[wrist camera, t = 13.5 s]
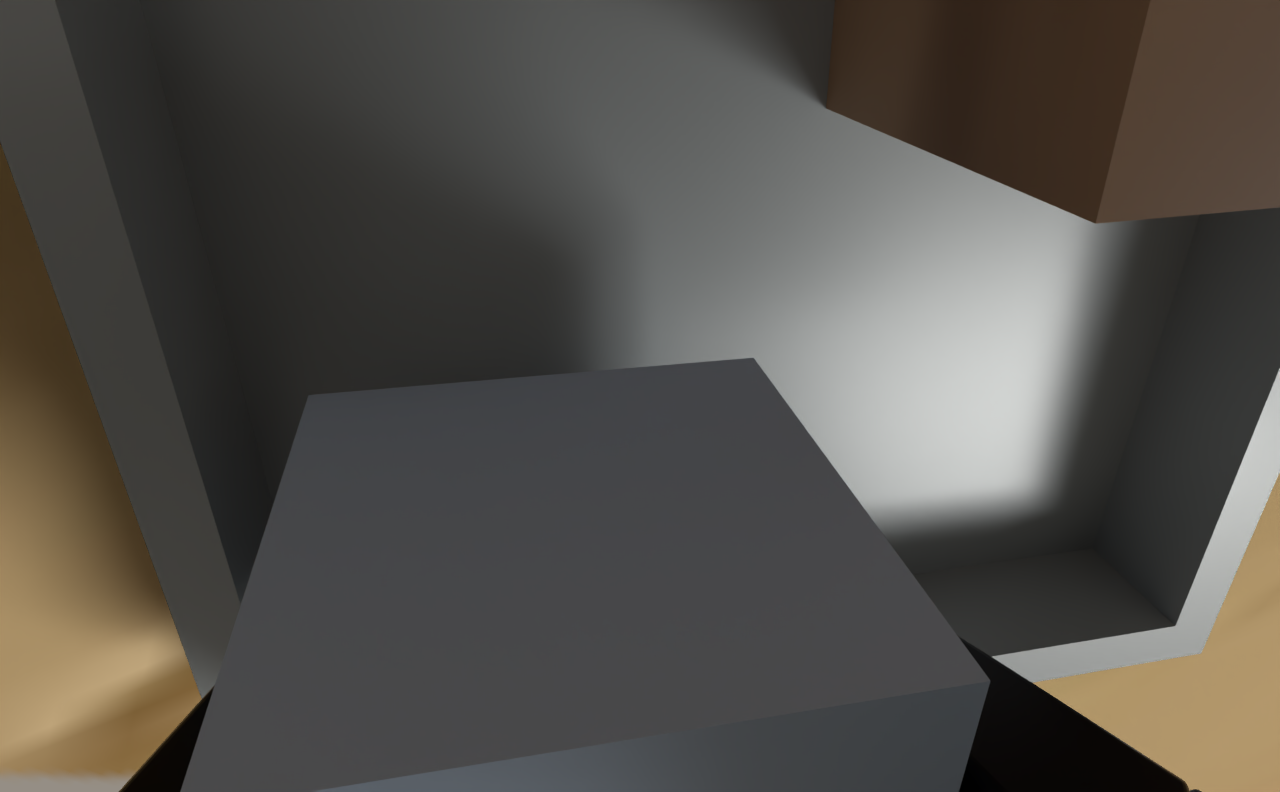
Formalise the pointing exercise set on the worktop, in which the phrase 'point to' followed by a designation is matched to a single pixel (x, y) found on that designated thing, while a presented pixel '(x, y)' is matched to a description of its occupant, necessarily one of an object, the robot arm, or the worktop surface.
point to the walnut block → (1076, 96)
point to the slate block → (580, 603)
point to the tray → (636, 286)
